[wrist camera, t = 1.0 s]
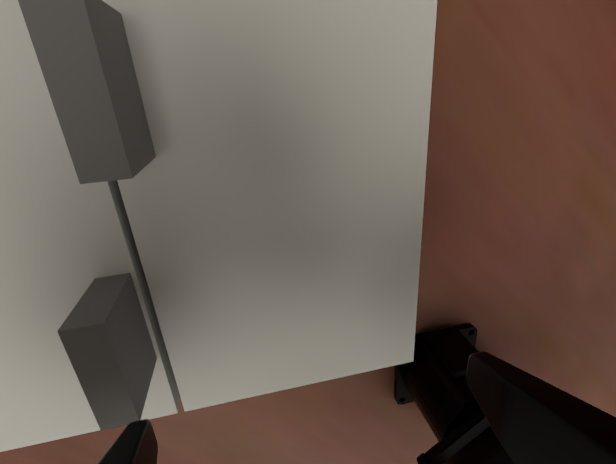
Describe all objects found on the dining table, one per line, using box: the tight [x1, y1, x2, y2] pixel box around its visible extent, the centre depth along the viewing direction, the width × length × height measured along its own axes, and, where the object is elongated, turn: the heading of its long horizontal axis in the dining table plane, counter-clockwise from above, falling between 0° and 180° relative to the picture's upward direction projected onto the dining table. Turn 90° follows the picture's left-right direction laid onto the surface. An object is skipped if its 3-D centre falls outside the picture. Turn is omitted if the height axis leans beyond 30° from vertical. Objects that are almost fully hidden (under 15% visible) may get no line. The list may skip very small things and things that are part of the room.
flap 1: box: [18, 0, 437, 411], centre depth 12 cm, size 18×11×4 cm, turn 4°
